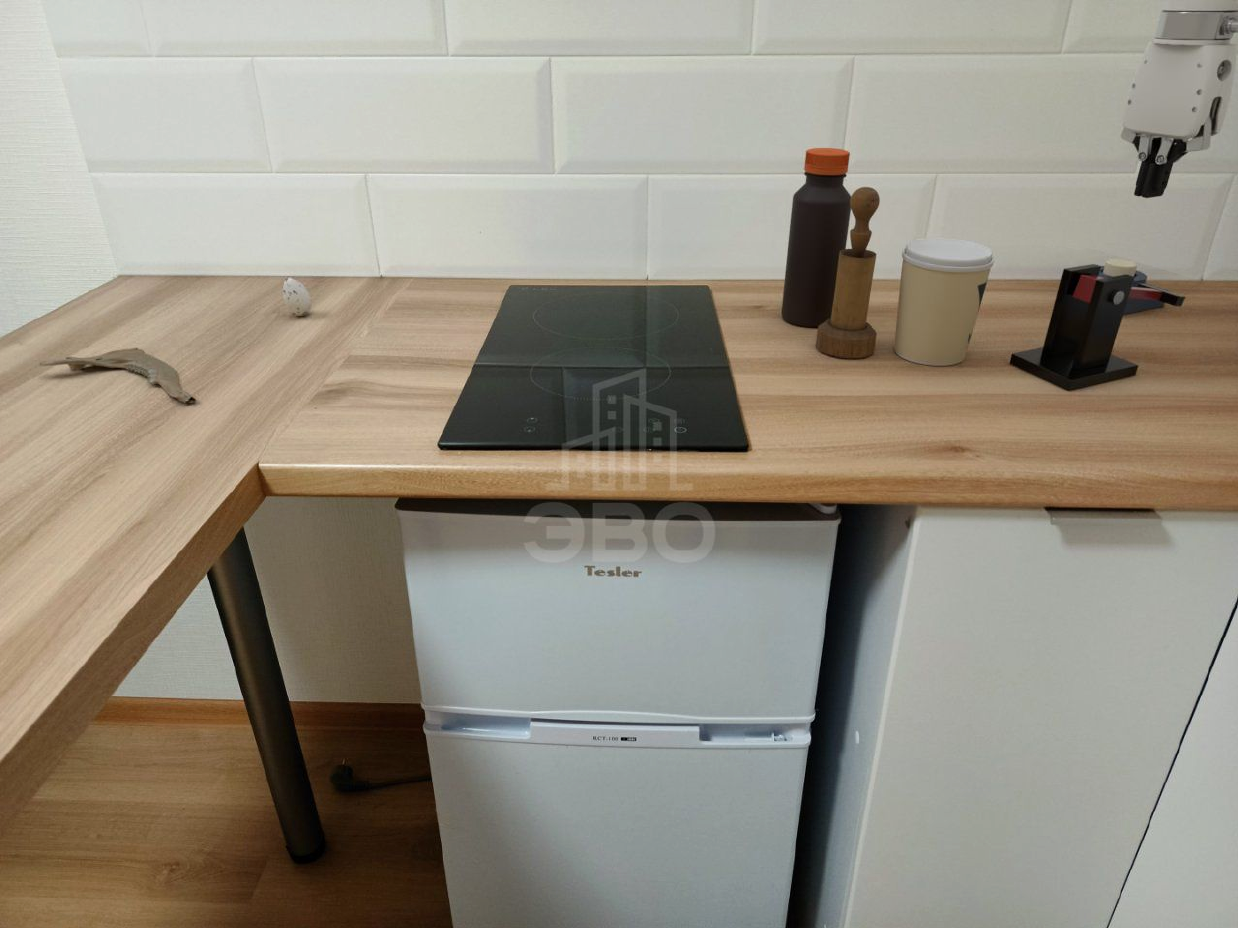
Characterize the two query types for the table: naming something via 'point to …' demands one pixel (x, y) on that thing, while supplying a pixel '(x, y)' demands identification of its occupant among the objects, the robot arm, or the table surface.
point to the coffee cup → (940, 299)
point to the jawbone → (133, 368)
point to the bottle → (816, 238)
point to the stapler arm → (1139, 292)
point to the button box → (1137, 304)
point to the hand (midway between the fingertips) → (1148, 195)
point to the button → (1119, 267)
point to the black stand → (1082, 334)
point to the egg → (296, 297)
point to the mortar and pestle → (853, 288)
